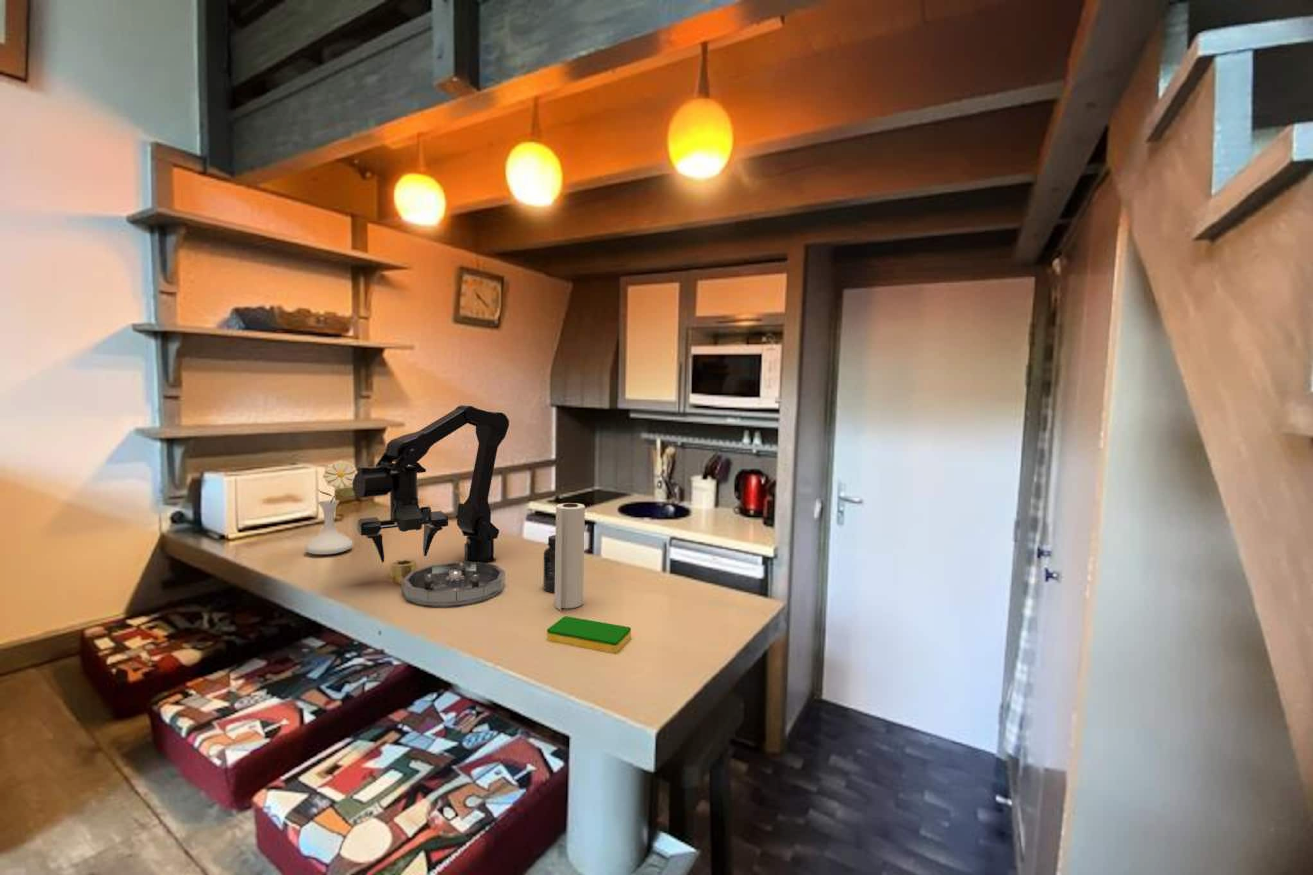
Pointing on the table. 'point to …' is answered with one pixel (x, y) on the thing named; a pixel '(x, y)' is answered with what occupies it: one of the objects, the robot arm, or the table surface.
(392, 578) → the planet gear
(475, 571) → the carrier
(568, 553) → the paper towel roll
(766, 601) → the table surface
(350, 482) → the flower in vase
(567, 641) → the dish sponge
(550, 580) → the supplement bottle
